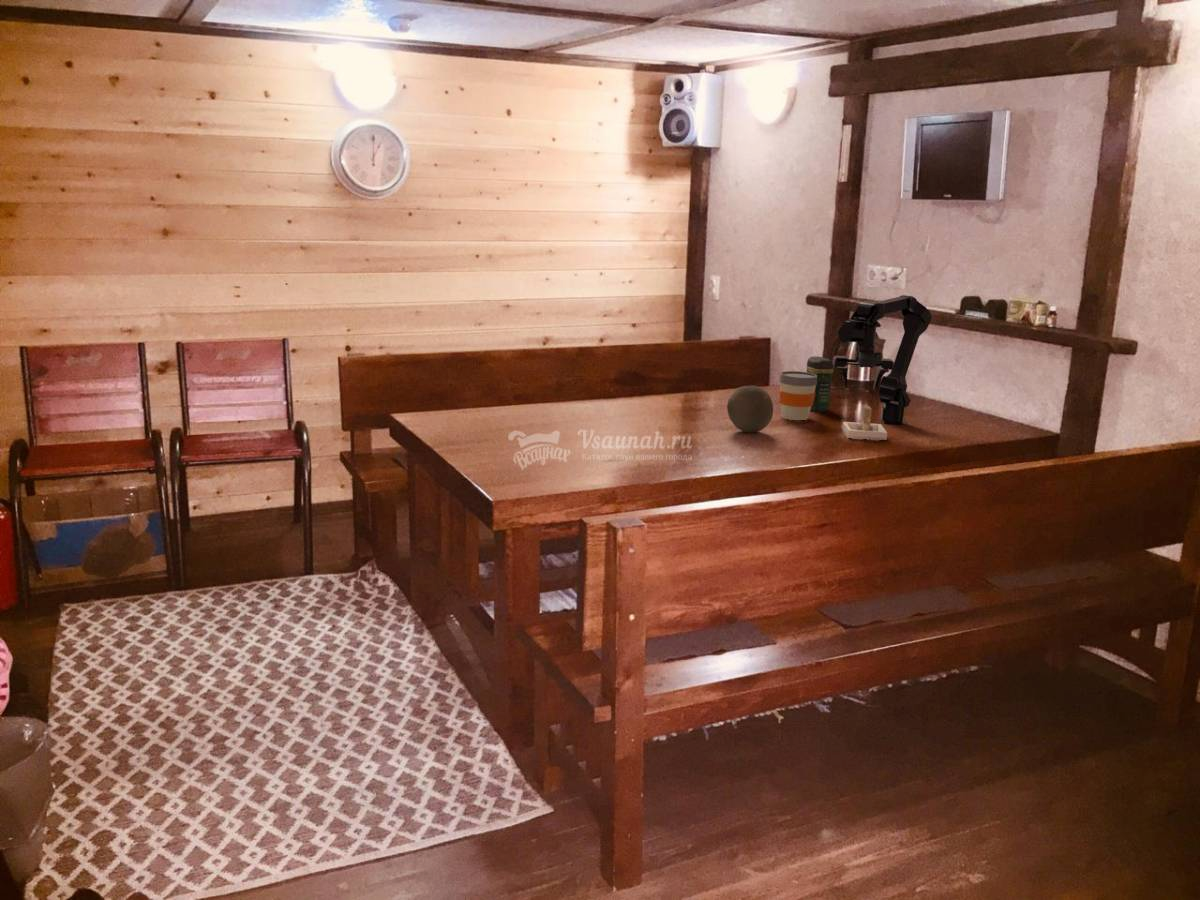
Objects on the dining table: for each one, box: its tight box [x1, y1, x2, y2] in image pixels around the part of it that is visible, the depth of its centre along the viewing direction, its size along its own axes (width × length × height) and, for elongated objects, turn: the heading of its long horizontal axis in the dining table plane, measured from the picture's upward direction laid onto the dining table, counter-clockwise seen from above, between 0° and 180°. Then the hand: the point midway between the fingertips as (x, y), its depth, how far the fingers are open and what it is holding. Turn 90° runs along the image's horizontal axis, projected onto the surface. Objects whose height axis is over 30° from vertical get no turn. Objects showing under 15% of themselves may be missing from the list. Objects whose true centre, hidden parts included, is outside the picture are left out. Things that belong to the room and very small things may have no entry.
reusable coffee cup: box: [778, 370, 817, 421], centre depth 334 cm, size 13×13×15 cm
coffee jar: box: [806, 356, 834, 412], centre depth 349 cm, size 10×8×19 cm
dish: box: [841, 421, 888, 441], centre depth 315 cm, size 12×12×3 cm
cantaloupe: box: [726, 385, 774, 434], centre depth 310 cm, size 14×14×15 cm
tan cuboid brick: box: [860, 405, 873, 431], centre depth 314 cm, size 2×4×8 cm, turn 175°
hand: (860, 388), depth 322 cm, fingers open, 9 cm apart
